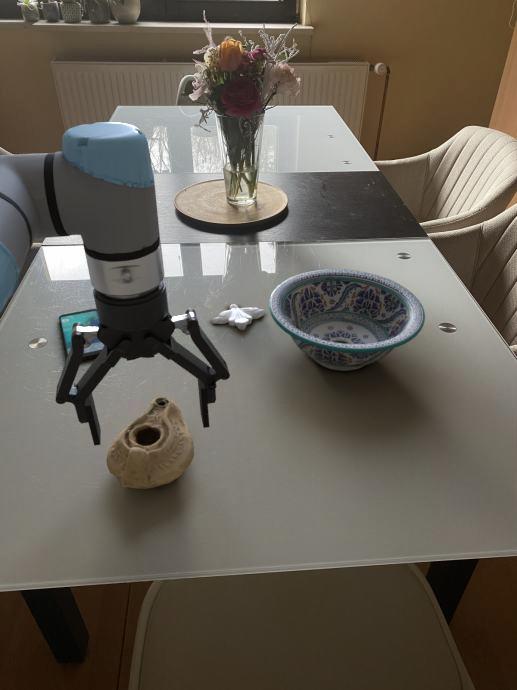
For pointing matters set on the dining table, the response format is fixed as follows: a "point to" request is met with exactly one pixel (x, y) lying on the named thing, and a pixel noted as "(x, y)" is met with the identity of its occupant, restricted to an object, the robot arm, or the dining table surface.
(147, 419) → the oil lamp
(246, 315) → the acanthus leaf ornament
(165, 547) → the dining table surface
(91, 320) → the smartphone
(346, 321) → the bowl
